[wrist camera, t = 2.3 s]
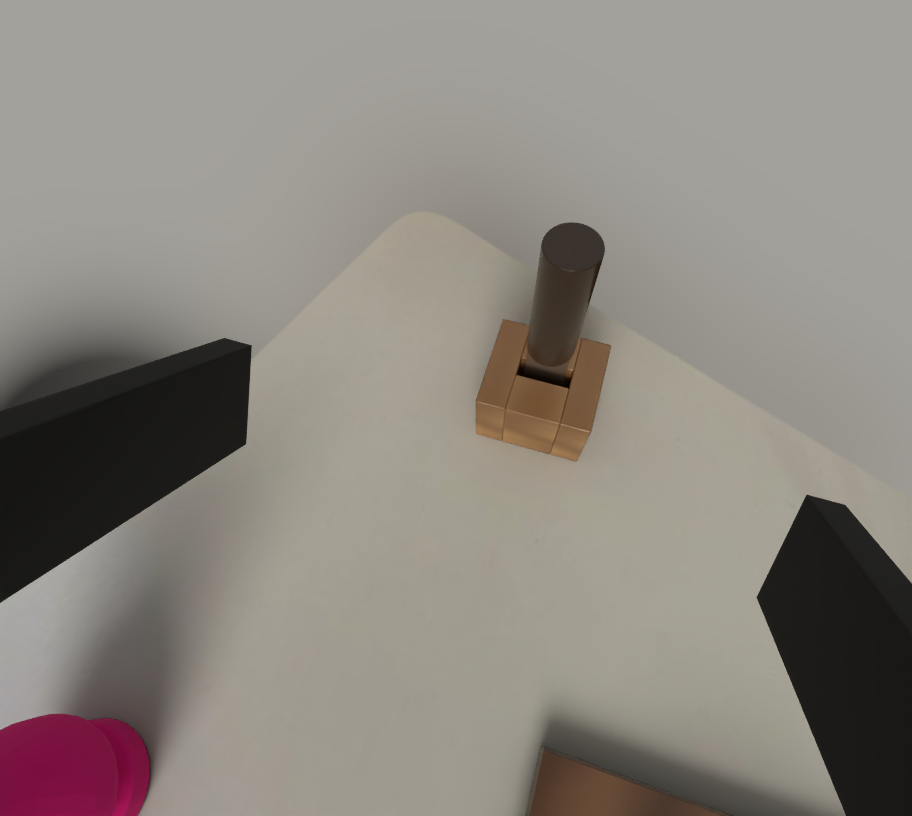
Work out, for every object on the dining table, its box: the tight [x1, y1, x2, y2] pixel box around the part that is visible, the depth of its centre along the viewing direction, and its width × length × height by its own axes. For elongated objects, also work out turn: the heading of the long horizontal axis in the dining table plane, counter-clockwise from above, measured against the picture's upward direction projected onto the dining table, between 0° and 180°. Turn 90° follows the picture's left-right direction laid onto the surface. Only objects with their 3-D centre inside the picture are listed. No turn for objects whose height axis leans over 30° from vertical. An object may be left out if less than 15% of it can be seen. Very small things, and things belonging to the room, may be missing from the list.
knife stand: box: [476, 319, 611, 461], centre depth 35 cm, size 7×6×5 cm
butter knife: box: [524, 223, 605, 387], centre depth 30 cm, size 3×3×16 cm
